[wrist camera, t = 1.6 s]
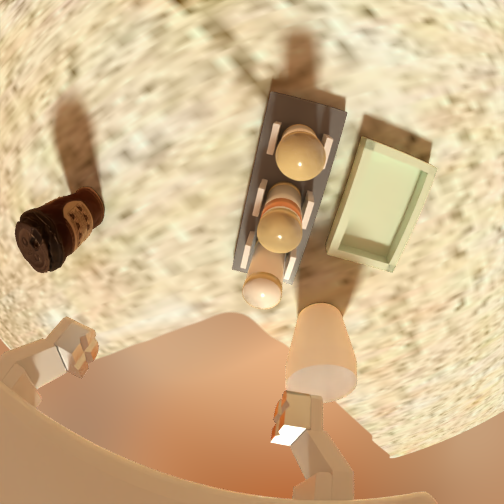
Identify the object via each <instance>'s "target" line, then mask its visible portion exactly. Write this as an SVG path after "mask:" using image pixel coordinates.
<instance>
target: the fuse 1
mask: <svg viewBox="0 0 504 504" xmlns="http://www.w3.org/2000/svg"><path fill="white" fill-rule="evenodd" d="M285 254H286V253H274V252H271V251H269V250H267V249H266V248H264V247H263V246H262V245H261V243H260V242H259V240H257V241H256V244H255V248H254V253H253V256H252V260H251V263H250V267H249V270H248V274H247V277H246V280H245V282H244V286H243V289H242V295H243V298H244V299H245V301H246V302H247V303H248V304H249V305H251V306H253V307H255V308H259V309H269V308H272V307H274V306H276V305H277V304H278V303H279V302H280V300H281V297H282V282H283V272H284V261H285Z"/></svg>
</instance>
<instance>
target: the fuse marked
mask: <svg viewBox="0 0 504 504" xmlns="http://www.w3.org/2000/svg"><path fill="white" fill-rule="evenodd" d="M257 237H258V240H259V242H260V243H261V245H262V246H263V247H264V248H266V249H267V250H269V251H271V252H274V253H287V252H290V251H292V250H293V249H295V248H296V247H297V246H298V245H299V243H300V242H301V239H302V213H301V193H300V191H299V189H298V188H297V187H296V186H295V185H294V184H292V183H290V182H278V183H276V184H274V185H273V186H272V187H271V188H270V190H269V192H268V195H267V200H266V203H265V206H264V209H263V211H262V214H261V218H260V221H259V224H258V228H257Z"/></svg>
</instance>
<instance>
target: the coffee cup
mask: <svg viewBox="0 0 504 504" xmlns="http://www.w3.org/2000/svg"><path fill="white" fill-rule="evenodd" d="M103 218H104V207H103V204H102V201H101V199H100V198H99V196H98V195H97V193H96V192H95V191H94V190H92V189H91V188H90V187H82V188H80V189H79V190H77V191H76V193H75V194H71V195H68V196H63V197H58V198H57V199H54V200H52V201H50V202H48V203H46V204H45V205H43V206H41V207H39V208H34V209H31V210H28V211H26V212H24V213H23V214H22V215H21V217H20V222H17V224H16V228H15V237H16V241H17V245H18V247H19V249H20V251H21V253H22V255H23V256H24V258H25V259H26V260H27V261H28V262H29V263H30V265H31V266H32V267H33V268H34V269H35V270H36V271H37V272H40V273H44V272H47V271H50V272H51V271H54V270H56V269H58V268H60V267H61V266H62V264H63V263H64V261H65V259H66V257H67V256H68V255H70V254H72V253H73V252H74V251H75V250H76V249H77V248H78V247H79V246H80V245H81V243H82V242H84V241H85V240H86V239H87V238H88V236H89V235H90V233H91V232H92V229H94V228H96V227H97V226H98V225H100V224H101V222H102V221H103Z"/></svg>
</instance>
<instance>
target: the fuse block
mask: <svg viewBox="0 0 504 504" xmlns="http://www.w3.org/2000/svg"><path fill="white" fill-rule="evenodd" d="M346 116H347V112H345V111H342V110H339V109H336V108H333V107H329V106H326V105H323V104H319V103H316V102H312V101H308V100H305V99H301V98H297V97H293V96H289V95H285V94H280V93H276V92H271V93H270V97H269V102H268V106H267V110H266V115H265V119H264V123H263V128H262V132H261V137H260V141H259V145H258V150H257V154H256V159H255V163H254V168H253V172H252V177H251V182H250V186H249V191H248V195H247V200H246V205H245V209H244V214H243V219H242V223H241V228H240V233H239V238H238V243H237V247H236V252H235V257H234V262H233V267H232V269H233V270H236V271H240V272H244V273H248V270H249V267H250V263H251V260H252V256H253V253H254V248H255V244H256V241H257V240H258V237H257V228H258V224H259V221H260V218H261V214H262V211H263V209H264V206H265V203H266V200H267V195H268V192H269V190H270V188H271V187H272V186H273V185H274V184H276V183H278V182H290V183H292V184H294V185H295V186H296V187H297V188H298V189H299V191H300V193H301V213H302V239H301V242H300V243H299V245H298V246H297V247H296V248H295V249H293V250H292V251H290V252H287V253H286V254H285V261H284V272H283V283H287V284H291V285H292V284H293V282H294V279H295V276H296V273H297V271H298V268H299V265H300V262H301V259H302V256H303V254H304V251H305V248H306V245H307V242H308V239H309V236H310V233H311V230H312V227H313V224H314V221H315V218H316V215H317V212H318V209H319V206H320V203H321V200H322V197H323V194H324V190H325V187H326V184H327V181H328V178H329V174H330V171H331V168H332V164H333V161H334V158H335V154H336V151H337V148H338V144H339V141H340V137H341V134H342V130H343V127H344V123H345V119H346ZM295 124H303V125H306V126H308V127H310V128H311V129H312V130H313V131H314V133H315V134H316V136H317V138H318V139H319V140H320V142H321V143H322V145H323V147H324V149H325V153H326V161H325V165H324V167H323V169H322V171H321V172H320V173H319V174H318V175H317V176H316V177H314V178H312V179H310V180H305V181H297V180H293V179H291V178H289V177H287V176H285V175H284V174H283V173H282V172H281V170H280V169H279V167H278V165H277V163H276V149H277V147H278V144H279V142H280V141H281V138H282V135H283V133H284V131H285V130H286V129H287V128H288V127H290V126H292V125H295Z"/></svg>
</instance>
